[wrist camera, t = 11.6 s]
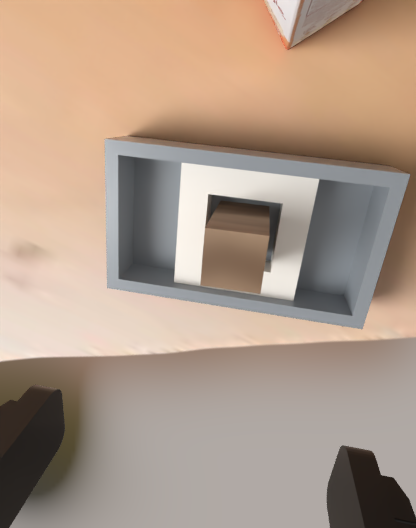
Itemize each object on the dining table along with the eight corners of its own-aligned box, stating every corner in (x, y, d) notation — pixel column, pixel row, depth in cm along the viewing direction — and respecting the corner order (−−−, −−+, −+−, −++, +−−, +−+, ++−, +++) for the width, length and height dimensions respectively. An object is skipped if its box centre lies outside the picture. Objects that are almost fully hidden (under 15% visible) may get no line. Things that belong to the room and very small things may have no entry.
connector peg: (220, 200, 30) (204, 227, 22) (269, 206, 29) (269, 235, 22) (216, 245, 31) (200, 285, 24) (262, 251, 31) (260, 294, 24)
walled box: (127, 135, 30) (104, 138, 26) (389, 165, 28) (410, 174, 24) (126, 267, 35) (107, 287, 31) (350, 302, 32) (362, 329, 28)
